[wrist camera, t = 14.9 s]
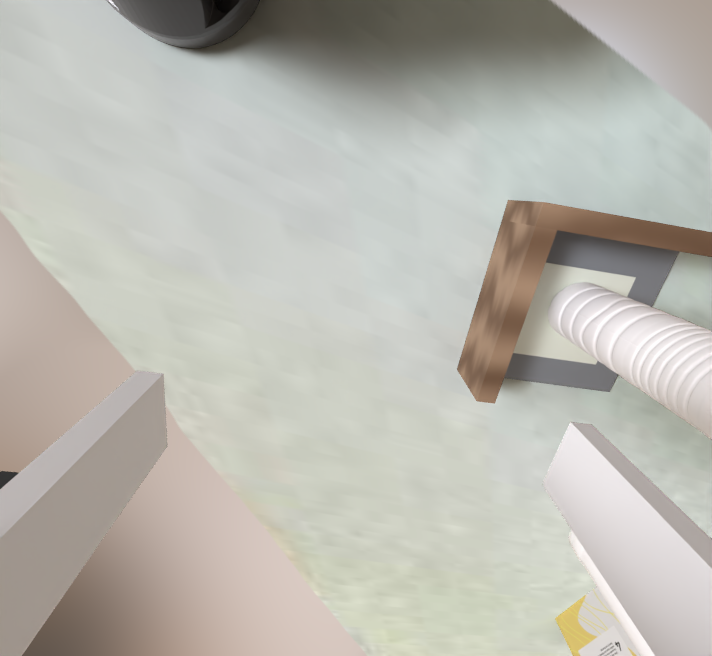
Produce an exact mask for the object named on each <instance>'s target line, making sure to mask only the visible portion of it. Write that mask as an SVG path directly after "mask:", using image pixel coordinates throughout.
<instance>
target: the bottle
mask: <svg viewBox="0 0 712 656" xmlns="http://www.w3.org/2000/svg"><path fill="white" fill-rule="evenodd" d="M568 538H569V543H570V545H571V546H572V548H573V550H574V552H575V554H576V556H577V557H578V559H579V560H580V562H581V563H582V564H583V565H584V567H585V569H586V570H587V572H588V573H589V575H590V576H591V578H592V580H593V581H594V583H595V584H596V586H597V588H598V589H599V591H600V592H601V594H602V595H603V597H604V599H605V600H606V602H607V603H608V605H609V606H610V608H611V610H612V611H613V613H614V614H615V616H616V618H617V619H618V621H619V622H620V624H621V625H622V627H623V629H624V630H625V632H626V633H627V635H628V636H629V638H630V640H631V641H632V643H633V644H634V646H635V648H636V649H637V651H638V652H639V654H640V655H641V656H655V655H654V653H653V652H652V650H651V649H650V647H649V646H648V644H647V643H646V641H645V640H644V638H643V637H642V635H641V634H640V632H639V631H638V629H637V628H636V626H635V625H634V623H633V622H632V620H631V619H630V617H629V616H628V614H627V613H626V611H625V610H624V608H623V607H622V605H621V604H620V602H619V601H618V599H617V598H616V596H615V595H614V593H613V591H612V590H611V588H610V587H609V585H608V584H607V582H606V581H605V579H604V578H603V576H602V575H601V573H600V572H599V570H598V569H597V567H596V566H595V564H594V563H593V561H592V560H591V558H590V557H589V555H588V554H587V552H586V551H585V549H584V548H583V546H582V545H581V543H580V542H579V540H578V539H577V537H576V536H575V534H574V533H573V531H572V530H571V531H570V534H569V537H568Z"/></svg>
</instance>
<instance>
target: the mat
mask: <svg viewBox="0 0 712 656" xmlns="http://www.w3.org/2000/svg"><path fill="white" fill-rule="evenodd" d="M678 253H679V251H675V250H669V249H663V248H657V247H652V246H646V245H640V244H634V243H628V242H623V241H617V240H611V239H605V238H600V237H594V236H588V235H582V234H577V233H571V232H565V231H559V230H557V233H556V235H555V238H554V241H553V244H552V246H551V249H550V252H549V255H548V257H547V260H546V263H545V266H544V269H543V271H542V274H541V277H540V280H539V282H538V285H537V288H536V291H535V293H534V296H533V299H532V302H531V305H530V307H529V310H528V313H527V316H526V318H525V321H524V324H523V327H522V329H521V332H520V335H519V338H518V340H517V343H516V346H515V349H514V352H513V354H512V357H511V360H510V363H509V365H508V368H507V371H506V374H505V376H504V378H509V379H517V380H524V381H531V382H539V383H546V384H554V385H561V386H569V387H576V388H584V389H591V390H599V391H606V392H610V390H611V388H612V386H613V384H614V382H615V380H616V378H617V376H618V374H617V373H615V372H613V371H612V370H610V369H609V368H608V367H606V366H605V365H604V364H602V363H601V362H599V361H598V360H596V359H595V358H594V357H592V356H591V355H589V354H587V353H586V352H585V351H583V350H582V349H581V348H580V347H578V346H576V345H575V344H573V343H572V342H570V341H569V340H568V339H566V338H564V337H563V336H561V335H560V334H558V333H557V332H556V331H555V330H554V329H553V328H552V327H551V325H550V323H549V320H548V309H549V307H550V306H551V301H552V300H553V298H554V297H555V296H556V294H557V293H558V292H560V291H562V290H563V289H564V288H565V287H567V286H569V285H571V284H574V283H581V282H589V283H593V284H596V285H598V286H601V287H603V288H605V289H607V290H610V291H613V292H616V293H618V294H620V295H622V296H626V297H628V298H631V299H633V300H635V301H638V302H641V303H643V304H646V305H648V306H650V307H652V305H653V303H654V301H655V299H656V297H657V295H658V293H659V291H660V289H661V287H662V285H663V283H664V281H665V279H666V277H667V275H668V273H669V271H670V269H671V267H672V265H673V263H674V261H675V259H676V257H677V255H678Z"/></svg>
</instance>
